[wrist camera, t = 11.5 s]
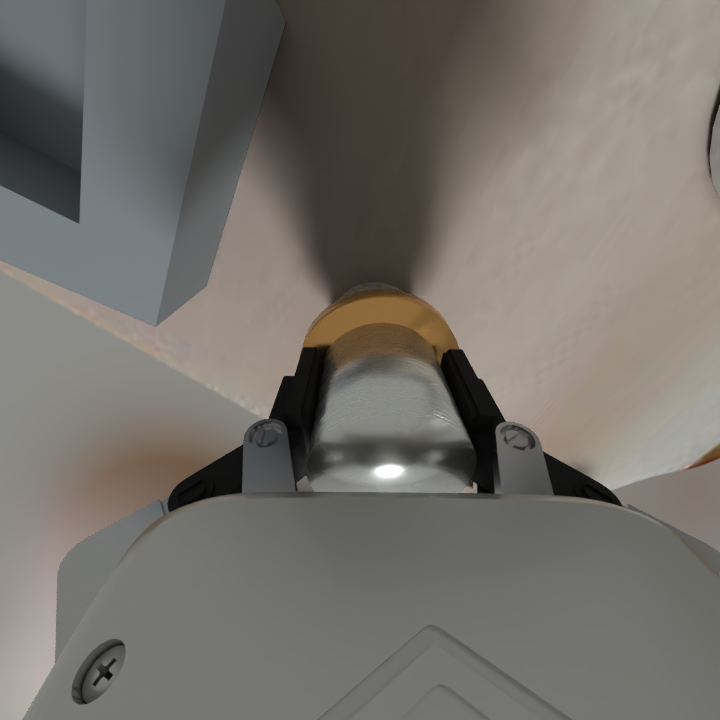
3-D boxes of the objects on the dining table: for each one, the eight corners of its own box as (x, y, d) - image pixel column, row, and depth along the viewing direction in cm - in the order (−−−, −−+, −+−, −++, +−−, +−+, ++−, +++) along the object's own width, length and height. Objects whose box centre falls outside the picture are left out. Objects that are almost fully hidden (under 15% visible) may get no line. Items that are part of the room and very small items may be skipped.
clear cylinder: (445, 261, 15) (552, 384, 7) (426, 371, 19) (478, 527, 11) (305, 261, 15) (247, 387, 7) (317, 371, 19) (290, 530, 11)
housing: (-157, -345, 7) (-846, -1023, 3) (286, 21, 11) (240, -67, 7) (-60, 155, 13) (-253, 152, 9) (206, 286, 17) (155, 326, 12)
